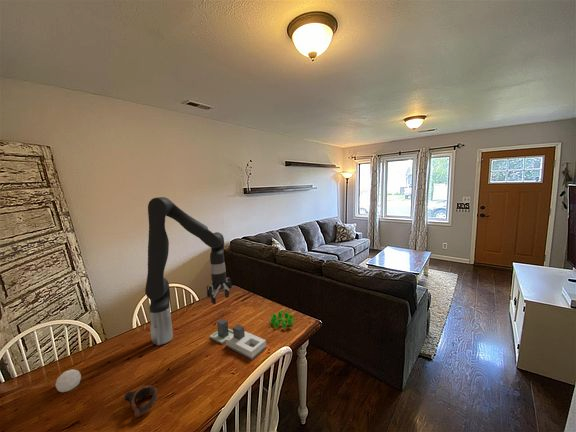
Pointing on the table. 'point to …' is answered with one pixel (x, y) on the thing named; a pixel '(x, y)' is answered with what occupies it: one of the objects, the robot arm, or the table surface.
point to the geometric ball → (68, 380)
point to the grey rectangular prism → (222, 328)
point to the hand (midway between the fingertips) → (220, 300)
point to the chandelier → (281, 319)
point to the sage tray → (220, 339)
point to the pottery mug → (139, 395)
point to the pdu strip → (245, 342)
